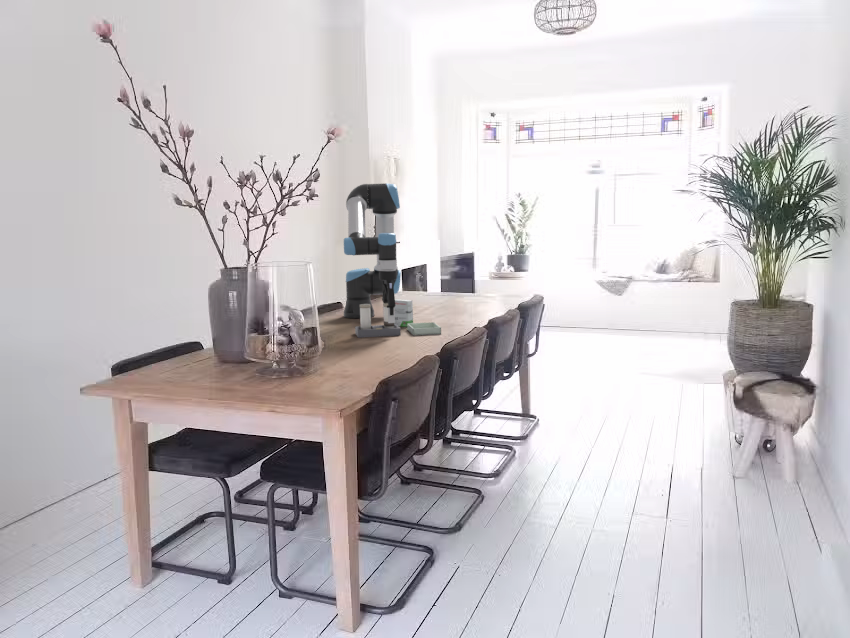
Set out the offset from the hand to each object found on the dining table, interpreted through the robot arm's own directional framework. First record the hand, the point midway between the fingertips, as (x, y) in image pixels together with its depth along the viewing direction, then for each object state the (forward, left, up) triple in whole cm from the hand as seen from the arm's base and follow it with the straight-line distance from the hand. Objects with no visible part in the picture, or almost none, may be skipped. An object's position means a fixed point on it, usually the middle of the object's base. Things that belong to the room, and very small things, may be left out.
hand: (389, 320), depth 299 cm
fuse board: (0, -5, -6) cm, 8 cm away
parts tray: (0, +15, -6) cm, 16 cm away
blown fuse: (0, 0, -6) cm, 6 cm away
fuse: (0, -10, -6) cm, 12 cm away
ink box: (-18, +9, -6) cm, 21 cm away
